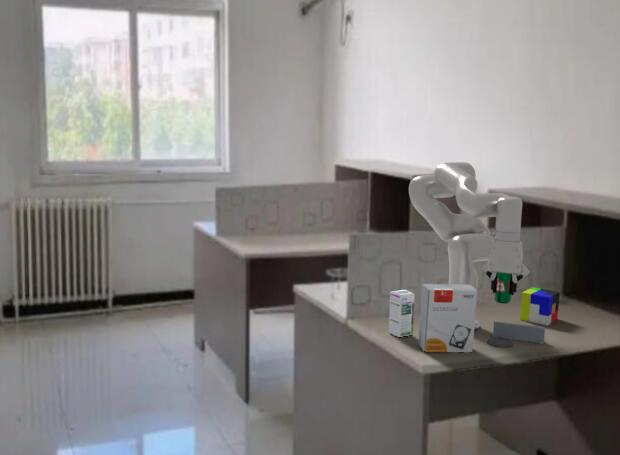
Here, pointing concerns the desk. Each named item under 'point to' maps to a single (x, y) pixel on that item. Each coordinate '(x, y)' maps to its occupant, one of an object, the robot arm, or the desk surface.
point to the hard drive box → (447, 317)
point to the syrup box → (401, 312)
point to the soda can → (503, 288)
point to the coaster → (499, 342)
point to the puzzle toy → (539, 306)
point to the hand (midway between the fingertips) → (503, 292)
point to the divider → (519, 332)
